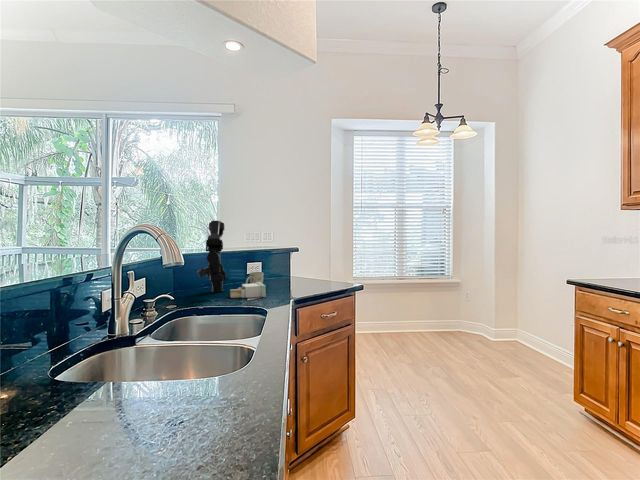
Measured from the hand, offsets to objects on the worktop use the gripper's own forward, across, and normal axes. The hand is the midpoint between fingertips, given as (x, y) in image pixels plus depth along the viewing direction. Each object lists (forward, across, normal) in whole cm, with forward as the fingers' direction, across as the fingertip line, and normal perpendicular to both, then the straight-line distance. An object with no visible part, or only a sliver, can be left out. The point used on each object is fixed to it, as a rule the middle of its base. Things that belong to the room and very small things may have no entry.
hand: (214, 292), depth 191 cm
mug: (+3, -15, +24) cm, 29 cm away
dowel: (+3, +1, +14) cm, 14 cm away
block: (+3, 0, +18) cm, 18 cm away
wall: (+3, 0, +24) cm, 24 cm away
